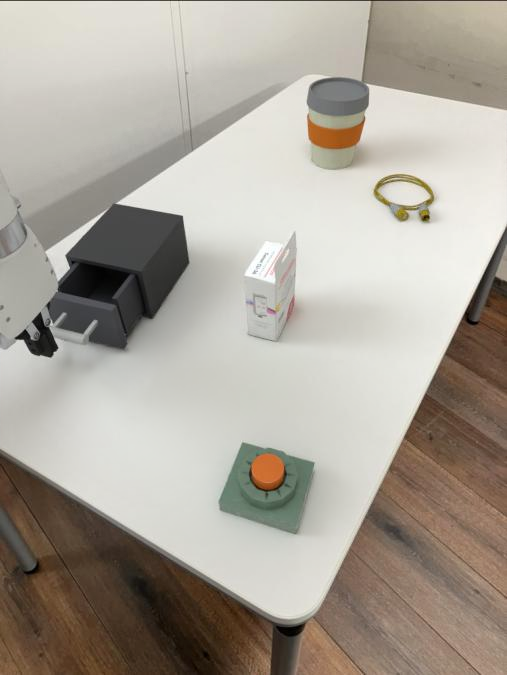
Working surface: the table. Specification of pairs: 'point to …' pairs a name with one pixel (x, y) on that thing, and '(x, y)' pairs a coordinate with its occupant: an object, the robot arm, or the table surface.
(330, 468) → the table surface
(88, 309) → the drawer
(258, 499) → the control box
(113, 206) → the black hollow box
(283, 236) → the table surface
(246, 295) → the ink cartridge box
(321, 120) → the reusable coffee cup
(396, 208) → the extension cord
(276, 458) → the button
